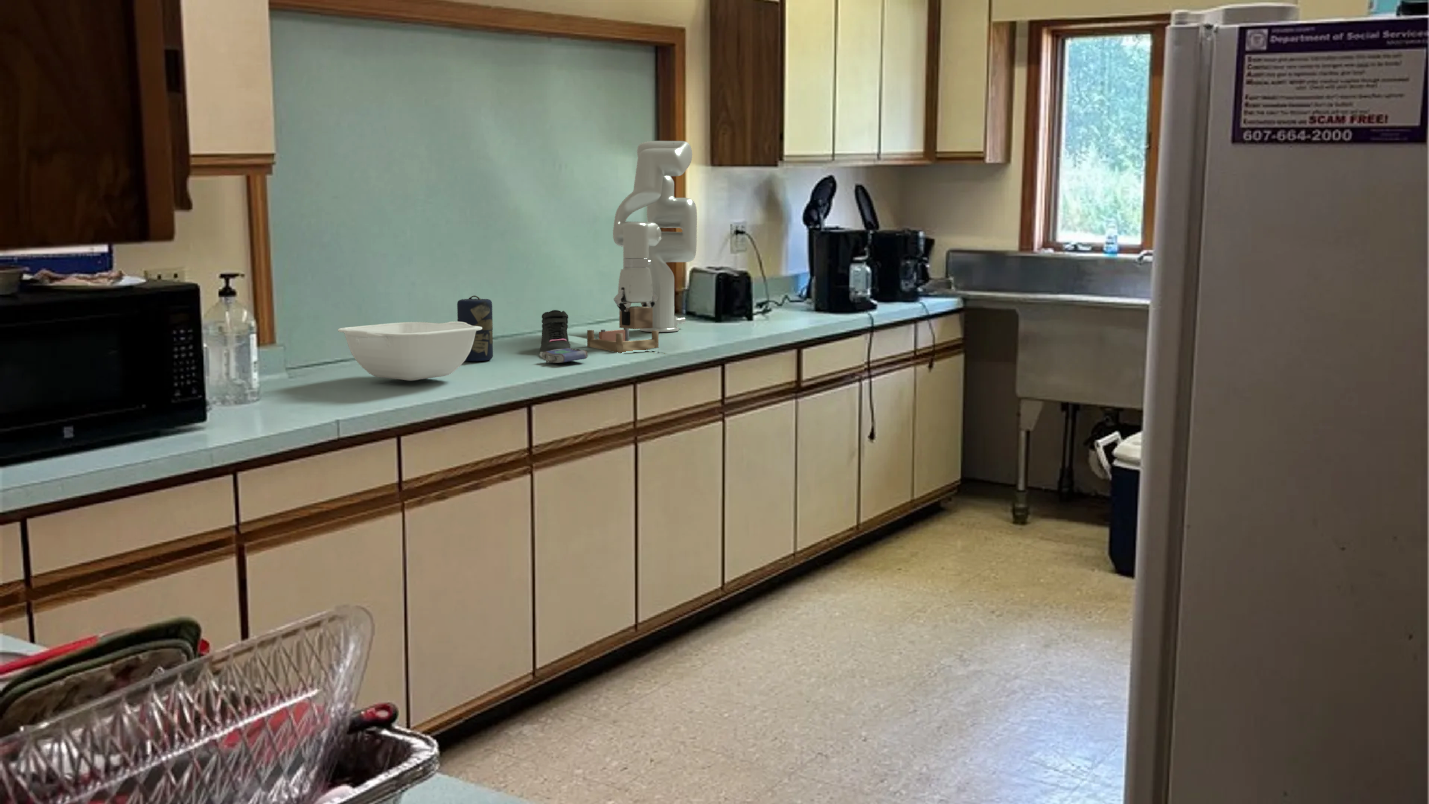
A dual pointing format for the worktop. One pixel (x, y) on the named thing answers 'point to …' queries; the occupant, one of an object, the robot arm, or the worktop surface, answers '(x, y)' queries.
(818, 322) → the worktop surface
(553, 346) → the sneaker
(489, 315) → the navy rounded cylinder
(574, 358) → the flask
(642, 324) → the seat block
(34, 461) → the worktop surface
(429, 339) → the white bowl
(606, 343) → the frame
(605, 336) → the rail
